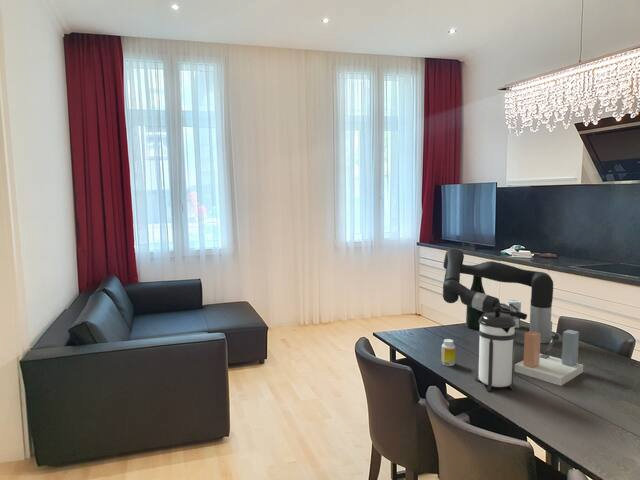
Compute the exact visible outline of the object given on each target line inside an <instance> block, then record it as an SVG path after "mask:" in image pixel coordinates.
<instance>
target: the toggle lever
mask: <svg viewBox="0 0 640 480" xmlns="http://www.w3.org/2000/svg"><path fill="white" fill-rule="evenodd" d="M559 340H560V335H559V334H557V333H552V339H551V341H550V342H549V343H548V345H547V347H546V349H545V350H544V352H543V353H544V354H545V355H548V354H549V353H550V350H551V349H552V348H553V346H554V344H555V343H556V341H559Z"/></svg>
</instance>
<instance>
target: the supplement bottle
mask: <svg viewBox="0 0 640 480" xmlns="http://www.w3.org/2000/svg"><path fill="white" fill-rule="evenodd" d="M440 359H441V362H440V363H441V364H442V366H443V365H444V366H447V367H451V366H455V364H456V345H455V344H454V340H453V339H450V338H445V339H443V343H442V344H441V358H440Z"/></svg>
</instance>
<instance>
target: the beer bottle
mask: <svg viewBox="0 0 640 480" xmlns="http://www.w3.org/2000/svg"><path fill="white" fill-rule="evenodd" d="M469 289H470V290H472V291H476V292H479V293H483V294H486V291H485V289H484V286H483V277H479V276H474V275H472V284H471V287H470V288H469ZM465 313H466V314H465V315H466V317H465V327H466V328H468V329H471V330H478V331H479V328H480V323H479V319H480V318H481V316H482V315H483V314H485V312H482V311H480V310H477V309H475V308H473V307H470V306H467V305H466V312H465Z"/></svg>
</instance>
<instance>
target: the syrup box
mask: <svg viewBox="0 0 640 480" xmlns="http://www.w3.org/2000/svg"><path fill="white" fill-rule="evenodd" d="M506 304H507V305H508V306H509V304H512V305H513V306H515V307H516V308H518V311H519V312H522V311H521V309H522V302H521V301H520V300H519V299H506ZM513 318H514V321H515V322H516V326H515V329H521V328H520V327H521V319H520V318H517V317H513Z"/></svg>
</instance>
